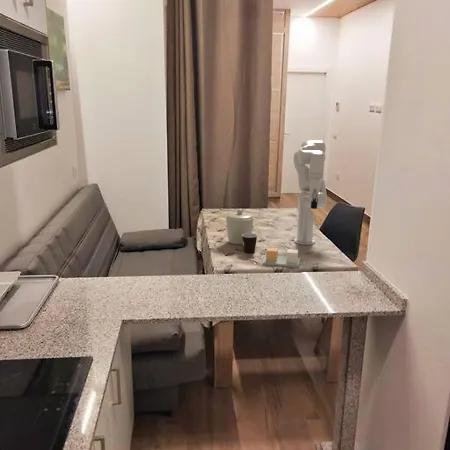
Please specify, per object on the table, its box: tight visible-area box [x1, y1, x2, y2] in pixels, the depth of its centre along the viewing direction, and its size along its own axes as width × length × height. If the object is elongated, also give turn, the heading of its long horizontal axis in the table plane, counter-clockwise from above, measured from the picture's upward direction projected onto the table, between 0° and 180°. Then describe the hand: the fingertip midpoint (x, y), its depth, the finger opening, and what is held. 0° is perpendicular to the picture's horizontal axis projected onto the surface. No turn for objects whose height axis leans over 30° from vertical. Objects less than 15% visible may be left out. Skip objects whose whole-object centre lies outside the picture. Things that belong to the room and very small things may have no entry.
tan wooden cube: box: [265, 247, 279, 261], centre depth 243 cm, size 6×6×6 cm
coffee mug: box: [242, 233, 258, 255], centre depth 258 cm, size 12×9×10 cm
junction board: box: [262, 248, 301, 268], centre depth 241 cm, size 13×19×7 cm
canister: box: [224, 208, 256, 246], centre depth 273 cm, size 18×18×21 cm
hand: (314, 206), depth 246 cm, fingers open, 9 cm apart
